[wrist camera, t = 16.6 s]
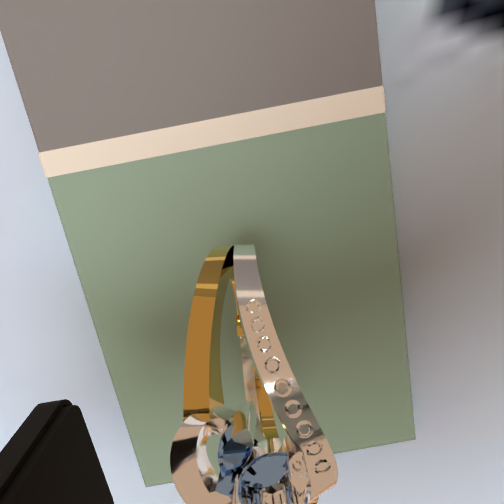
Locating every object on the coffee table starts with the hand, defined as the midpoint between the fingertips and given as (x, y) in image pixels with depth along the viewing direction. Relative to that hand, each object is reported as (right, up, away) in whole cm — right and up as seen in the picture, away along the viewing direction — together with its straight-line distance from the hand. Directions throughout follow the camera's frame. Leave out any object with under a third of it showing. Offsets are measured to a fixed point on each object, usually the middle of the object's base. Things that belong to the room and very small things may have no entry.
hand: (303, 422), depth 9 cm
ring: (-1, +1, +6) cm, 7 cm away
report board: (-2, +7, +5) cm, 9 cm away
